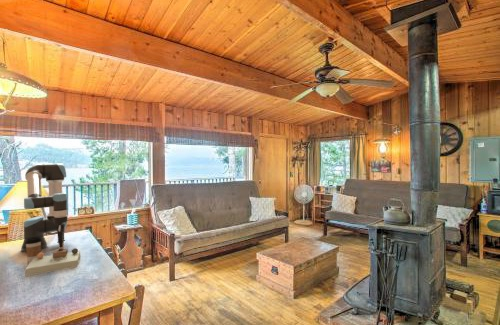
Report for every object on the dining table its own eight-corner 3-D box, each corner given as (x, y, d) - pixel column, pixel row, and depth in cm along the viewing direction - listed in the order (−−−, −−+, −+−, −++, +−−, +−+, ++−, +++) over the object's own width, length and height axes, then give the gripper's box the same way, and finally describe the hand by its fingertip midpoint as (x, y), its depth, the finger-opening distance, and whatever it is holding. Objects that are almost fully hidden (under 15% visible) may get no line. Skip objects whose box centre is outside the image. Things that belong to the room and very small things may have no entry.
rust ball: (37, 257, 166) (37, 252, 166) (44, 256, 168) (44, 251, 168) (36, 259, 163) (36, 254, 163) (43, 258, 165) (43, 253, 165)
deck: (33, 264, 166) (33, 257, 166) (80, 256, 178) (80, 250, 178) (25, 276, 149) (24, 269, 149) (77, 266, 161) (77, 260, 161)
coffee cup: (32, 263, 168) (32, 240, 168) (22, 262, 169) (21, 239, 169) (45, 258, 176) (44, 236, 176) (35, 257, 178) (34, 236, 178)
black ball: (72, 253, 173) (71, 248, 173) (78, 252, 175) (78, 247, 175) (71, 254, 170) (71, 249, 170) (77, 253, 172) (77, 248, 172)
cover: (54, 254, 171) (54, 248, 171) (67, 252, 175) (67, 246, 175) (52, 257, 165) (52, 251, 165) (66, 255, 168) (66, 249, 168)
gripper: (55, 215, 177) (56, 249, 177) (51, 218, 166) (52, 255, 166) (68, 214, 181) (69, 247, 181) (66, 217, 170) (67, 253, 170)
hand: (61, 251), depth 174 cm, fingers closed
